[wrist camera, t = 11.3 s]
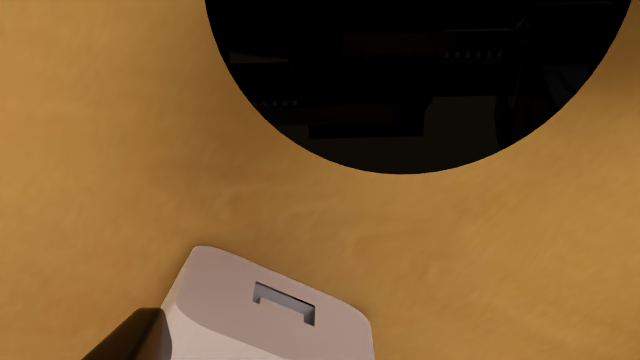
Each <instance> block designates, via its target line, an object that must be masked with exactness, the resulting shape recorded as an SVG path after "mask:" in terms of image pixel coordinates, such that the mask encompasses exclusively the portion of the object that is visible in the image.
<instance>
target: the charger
mask: <svg viewBox="0 0 640 360" xmlns="http://www.w3.org/2000/svg"><path fill="white" fill-rule="evenodd" d="M294 297H295V298H298V299H300V300H302V301H305V302H307V303H310V304H312V305H314V306H315V308H314V307H312V306H310V305H307V304H305V303H302V302H300V301H298V300H295V299H293V298H294ZM160 308H161V309H163V310H164V312H165V315H166V319H167V323H168V327H169V331H170V335H171V339H172V357H171V360H375V358H374V348H373V339H372V330H371V324H370V322H369V320H368V319H367V318H366V316H365V315H364V314H362V313H361V312H360V311H359V310H357V309H356V308H354V307H353V306H351V305H350V304H348V303H346V302H344V301H342V300H339V299H337V298H335V297H333V296H330V295H328V294H326V293H323V292H321V291H319V290H316V289H314V288H312V287H309V286H307V285H305V284H302V283H300V282H298V281H295V280H293V279H291V278H288V277H286V276H284V275H281V274H279V273H277V272H274V271H272V270H270V269H268V268H265V267H263V266H261V265H258V264H256V263H254V262H251V261H249V260H247V259H244V258H242V257H240V256H237V255H235V254H233V253H230V252H227V251H225V250H222V249H219V248H215V247H211V246H196V247H194V248H193V249H192V251H191V252H190V254H189V256H188V258H187V260H186V261H185V263H184V265H183V267H182V269H181V271H180V272H179V274H178V276H177V278H176V280H175V281H174V283H173V285H172V287H171V289H170V290H169V292H168V294H167V296H166V298H165V300H164V301H163V303H162V305H161V307H160Z"/></svg>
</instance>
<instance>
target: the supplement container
mask: <svg viewBox="0 0 640 360" xmlns="http://www.w3.org/2000/svg"><path fill="white" fill-rule="evenodd" d="M630 3H631V0H205V5H206V11H207V15H208V18H209V22H210V26H211V29H212V33H213V36H214V38H215V41H216V44H217V46H218V49H219V52H220V54H221V56H222V58H223V60H224V62H225V64H226V66H227V68H228V70H229V72H230V74H231V75H232V77H233V79H234V80H235V82H236V83H237V85H238V87H239V88H240V90H241V91H242V92H243V94H244V95H245V96H246V98H247V99H248V100H249V102H250V103H251V104H252V105H253V107H254V108H255V109H256V110H257V111H258V112H259V113H260V114H261V115H262V116H263V117H264V118H265V119H266V120H267V121H268V122H269V123H270V124H271V125H272V126H274V127H275V128H276V129H277V130H278V131H279V132H280V133H282V134H283V135H285V136H286V137H287V138H289V139H290V140H292V141H293V142H294V143H296V144H298V145H299V146H301V147H303V148H305V149H306V150H308V151H310V152H311V153H314V154H316V155H318V156H320V157H322V158H324V159H327V160H329V161H332V162H335V163H338V164H340V165H343V166H346V167H350V168H355V169H359V170H363V171H369V172H376V173H384V174H421V173H429V172H437V171H442V170H447V169H452V168H456V167H459V166H463V165H466V164H469V163H473V162H475V161H478V160H481V159H483V158H486V157H488V156H491V155H493V154H495V153H497V152H499V151H501V150H503V149H505V148H507V147H509V146H511V145H512V144H514V143H516V142H517V141H519V140H521V139H522V138H524V137H526V136H527V135H529V134H530V133H532V132H533V131H534V130H536V129H537V128H538V127H540V126H541V125H543V124H544V123H545V122H546V121H548V120H549V119H550V118H551V117H552V116H553V115H555V114H556V113H557V112H558V111H559V110H560V109H561V108H562V107H563V106H564V105H565V104H566V103H567V102H568V101H569V100H570V99H571V98H572V97H573V96H574V95H575V94H576V93H577V92H578V91H579V90H580V88H581V87H582V86H583V85H584V84H585V82H586V81H587V80H588V79H589V78H590V76H591V75H592V74H593V72H594V71H595V69H596V68H597V66H598V65H599V64H600V62H601V61H602V59H603V58H604V56H605V54H606V53H607V51H608V49H609V48H610V46H611V44H612V43H613V41H614V39H615V37H616V35H617V33H618V31H619V29H620V27H621V25H622V23H623V20H624V18H625V16H626V13H627V11H628V8H629V5H630Z"/></svg>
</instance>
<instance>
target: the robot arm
mask: <svg viewBox="0 0 640 360" xmlns="http://www.w3.org/2000/svg"><path fill="white" fill-rule="evenodd" d="M171 357H172V339H171V335H170V331H169V327H168V323H167V319H166V315H165V312H164V310H163V309H161V308H140V309H138V310H136V311H135V312H134V313H133V314H131V315H130V316H129V317H128V318H127V319H126V320H125V321H124V322H123V323H121V324H120V325H119V326H118V327H117V328H116V329H115V330H114V331H113V332H111V333H110V334H109V335H108V336H107V337H106V338H105V339H104V340H103V341H101V342H100V343H99V344H98V345H97V346H96V347H95V348H94V349H93V350H91V351H90V352H89V353H88V354H87V355H86V356H85V357H84V358H83V359H81V360H171Z"/></svg>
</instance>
